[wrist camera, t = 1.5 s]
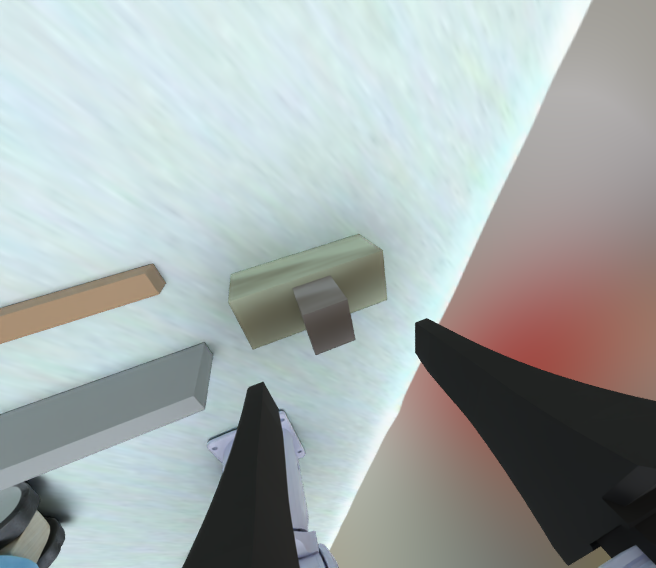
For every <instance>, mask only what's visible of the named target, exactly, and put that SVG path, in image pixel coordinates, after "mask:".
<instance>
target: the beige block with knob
mask: <svg viewBox="0 0 656 568" xmlns="http://www.w3.org/2000/svg"><path fill="white" fill-rule="evenodd" d="M385 300H387V292H386V281H385V270H384V258H383V250H382V249H380V248H379V247H377V246H376V245H374V244H373V243H371V242H370V241H368V240H367V239H365V238H364V237H363V236H361V235H360V234H357V235H354V236H351V237H347V238H344V239H341V240H338V241H335V242H331V243H328V244H325V245H322V246H319V247H316V248H312V249H309V250H306V251H303V252H300V253H297V254H293V255H290V256H287V257H284V258H281V259H278V260H274V261H271V262H268V263H265V264H262V265H259V266H255V267H252V268H249V269H246V270H243V271H239V272H236V273H233V274H231V277H230V287H229V297H228V303H229V305H230V307H231V309H232V311H233V312H234V314H235V316H236V318H237V320H238V322H239V324H240V326H241V328H242V330H243V332H244V334H245V335H246V337H247V339H248V341H249V343H250V345H251V347H252V349H256V348H258V347H261V346H264V345H267V344H269V343H272V342H275V341H277V340H280V339H283V338H285V337H288V336H291V335H294V334H296V333H299V332H302V331H304V330H307V333H308V336H309V338H310V341H311V344H312V347H313V349H314V352H315V355H318V354H320V353H323V352H326V351H328V350H331V349H333V348H336V347H338V346H341V345H343V344H346V343H349V342H351V341H354V340H355V335H354V330H353V325H352V319H351V314H350V313H353V312H356V311H358V310H361V309H364V308H366V307H369V306H372V305H375V304H377V303H380V302H383V301H385Z"/></svg>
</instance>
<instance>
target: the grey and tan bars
mask: <svg viewBox="0 0 656 568" xmlns="http://www.w3.org/2000/svg"><path fill="white" fill-rule="evenodd" d="M165 284H166V283H165V281H164V280H163V278H162V277H161V275H160V274H159V272H158V271H157V269H156V267H155V266H154V264H150V265H147V266H143V267H140V268H136V269H133V270H129V271H126V272H123V273H119V274H116V275H112V276H109V277H106V278H102V279H99V280H95V281H92V282H88V283H85V284H82V285H78V286H75V287H71V288H68V289H65V290H61V291H58V292H54V293H51V294H47V295H44V296H41V297H37V298H34V299H30V300H27V301H24V302H20V303H17V304H13V305H10V306H7V307H3V308H0V344H2V343H5V342H8V341H11V340H15V339H18V338H21V337H24V336H27V335H30V334H34V333H37V332H40V331H43V330H46V329H50V328H53V327H56V326H59V325H62V324H66V323H69V322H72V321H75V320H78V319H82V318H85V317H88V316H91V315H94V314H98V313H101V312H104V311H107V310H110V309H114V308H117V307H120V306H123V305H126V304H129V303H133V302H136V301H139V300H142V299H145V298H149V297H152V296H155V295H158V294H160V292H161V290H162V289H163V287H164V286H165ZM212 360H213V354H212V353H211V351H210V350H209V348H208V347H207V345H206V344H205V343H202V344H199V345H196V346H193V347H190V348H188V349H185V350H182V351H179V352H176V353H173V354H171V355H168V356H165V357H162V358H159V359H157V360H154V361H151V362H148V363H145V364H142V365H140V366H137V367H134V368H131V369H128V370H125V371H123V372H120V373H117V374H114V375H111V376H108V377H106V378H103V379H100V380H97V381H94V382H91V383H89V384H86V385H83V386H80V387H77V388H75V389H72V390H69V391H66V392H63V393H60V394H58V395H55V396H52V397H49V398H46V399H43V400H41V401H38V402H35V403H32V404H29V405H26V406H24V407H21V408H18V409H15V410H12V411H9V412H7V413H4V414H1V415H0V491H1V490H4V489H6V488H9V487H11V486H14V485H16V484H19V483H21V482H24V481H26V480H29V479H31V478H34V477H36V476H39V475H42V474H44V473H47V472H49V471H52V470H54V469H57V468H59V467H62V466H64V465H67V464H69V463H72V462H74V461H77V460H79V459H82V458H84V457H87V456H89V455H92V454H94V453H97V452H99V451H102V450H104V449H107V448H110V447H112V446H115V445H117V444H120V443H122V442H125V441H127V440H130V439H132V438H135V437H137V436H140V435H142V434H145V433H147V432H150V431H152V430H155V429H157V428H160V427H162V426H165V425H167V424H170V423H172V422H175V421H178V420H180V419H183V418H185V417H188V416H190V415H193V414H195V413H198V412H200V411H203V410H205V406H206V399H207V393H208V386H209V380H210V373H211V366H212Z"/></svg>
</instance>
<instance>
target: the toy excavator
mask: <svg viewBox="0 0 656 568" xmlns="http://www.w3.org/2000/svg"><path fill="white" fill-rule="evenodd" d="M39 502H40V497H39V496H38V495H37V493H36V492H35V491H34V490H33V489H32V488H31V486H30V485H29V484H28V483H26V482H21V483H19V484H16V485H14V486H11V487H9V488H6V489H4V490H1V491H0V568H48V567H49V566H50V565H51V564H52V563H53V561H54V560H55V559H56V558H57V556H58V554H59V552H60V550H61V546H62V545H63V542H64V540H65V531H64V529H63V528H62V526H61V525H60V524H59V522H58V521H57V520H56V519H55V518H52V517H45V518H44V517H43V516H42V515H41V514H40V513H39V512H38V511H37V508H38V505H39Z"/></svg>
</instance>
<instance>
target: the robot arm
mask: <svg viewBox="0 0 656 568" xmlns="http://www.w3.org/2000/svg"><path fill="white" fill-rule="evenodd" d="M415 353H416V354H417V356H418V358H419V359H420V361H421V362H422V364H423V365H424V367H425V368H426V369H427V371H428V372H429V373H430V375H431V376H432V377H433V378H434V379H435V381H436V382H437V383H438V384H439V385H440V387H441V388H442V389H443V390H444V391H445V392H446V394H447V395H448V396H449V397H450V398H451V399H452V400H453V402H454V403H455V404H456V405H457V406H458V407H459V409H460V410H461V411H462V412H463V413H464V415H465V416H466V417H467V418H468V420H469V421H470V422H471V423H472V425H473V426H474V427H475V428H476V430H477V431H478V433H479V434H480V436H481V437H482V438H483V440H484V441H485V443H486V444H487V445H488V447H489V448H490V450H491V451H492V453H493V454H494V455H495V457H496V458H497V460H498V461H499V463H500V464H501V466H502V467H503V468H504V470H505V471H506V473H507V474H508V476H509V477H510V479H511V481H512V482H513V484H514V485H515V486H516V488H517V490H518V491H519V493H520V494H521V496H522V497H523V499H524V500H525V502H526V504H527V505H528V507H529V508H530V510H531V512H532V513H533V515H534V516H535V518H536V520H537V521H538V523H539V524H540V526H541V528H542V529H543V531H544V532H545V534H546V536H547V537H548V539H549V541H550V542H551V544H552V546H553V547H554V549H555V550H556V551H557V552H558V554H559V555H560V556H561V558H562V559H563V560H564V562H565V563H566V564H567V565H570V564H572V563H573V562H575V561H577V560H579V559H580V558H582V557H584V556H585V555H587V554H589V553H590V552H592V551H594V550H595V549H597V548H598V547H600V546H601V547H602V548H603V549H604V550H605V551H606V552H607V554H608V555H609V556H610V557H611V558H612V559H610V560H609V561H607V562H605V563H604V564H602V565H601V566H599V567H598V568H656V401H653V400H648V399H644V398H639V397H635V396H631V395H626V394H622V393H618V392H614V391H611V390H607V389H603V388H599V387H596V386H592V385H589V384H585V383H582V382H578V381H575V380H572V379H568V378H565V377H562V376H559V375H555V374H553V373H550V372H547V371H544V370H541V369H538V368H535V367H533V366H530V365H527V364H525V363H522V362H519V361H517V360H514V359H511V358H509V357H507V356H504V355H502V354H499V353H497V352H495V351H493V350H490V349H488V348H486V347H483V346H481V345H479V344H477V343H475V342H473V341H471V340H469V339H467V338H465V337H463V336H461V335H458V334H457V333H455V332H453V331H451V330H449V329H447V328H445V327H443V326H441V325H439V324H437V323H435V322H433V321H431V320H429V319H427V318H426V319H424V320H421V321H418V322H416V323H415ZM207 448H208V449H209V450H210V451H211V452H212V453H213V454H214V455H215V456H216V457H217V458H218V460H219V461H220V462H221V463H222V464H223V468H222V476H221V479H220V482H219V484H218V487H217V490H216V492H215V495H214V497H213V500H212V502H211V505H210V507H209V509H208V512H207V514H206V517H205V519H204V521H203V524H202V526H201V528H200V530H199V532H198V535H197V537H196V539H195V541H194V544H193V546H192V548H191V550H190V552H189V554H188V557H187V559H186V561H185V563H184V565H183V567H182V568H339V567H338V564H337V562H336V560H335V558H334V556H333V555H332V554H331V553H330V551H329V550H328V548H327V547H326V546H325V545H324V544H318V542H317V537H316V532H315V531H311V532H308V511H307V505H306V499H305V494H304V488H303V483H302V477H301V472H300V466H299V461H298V459H300V458H302V457H304V456H305V450H304V448H303V446H302V444H301V442H300V440H299V438H298V437H297V435H296V433H295V431H294V429H293V427H292V425H291V423H290V421H289V419H288V417H287V416H286V414H285V412H284V411H279V410H278V407H277V405H276V404H275V402H274V400H273V398H272V396H271V395H270V393H269V391H268V389H267V387H266V386H265V384H264V382H261V383H258V384H256V385H253V386H251V387H249V388H248V390H247V394H246V398H245V402H244V406H243V410H242V414H241V418H240V421H239V425H238V428H237V429H236V430H234V431H231V432H229V433H227V434H224V435H222V436H219V437H217V438H215V439H212V440H210V441H209V442H208V443H207Z"/></svg>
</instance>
